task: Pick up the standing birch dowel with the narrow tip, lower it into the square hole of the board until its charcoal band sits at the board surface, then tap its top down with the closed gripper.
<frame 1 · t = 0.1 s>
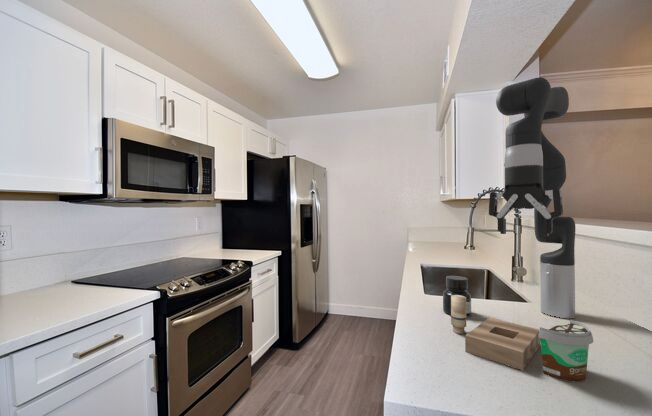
hand: (523, 234, 68), 29 cm above the worktop, tool pointing down, fingers open, 8 cm apart
food container: (572, 376, 61), on the worktop
board: (503, 348, 73), on the worktop
peg: (458, 331, 83), on the worktop
ink bottle: (456, 313, 99), on the worktop
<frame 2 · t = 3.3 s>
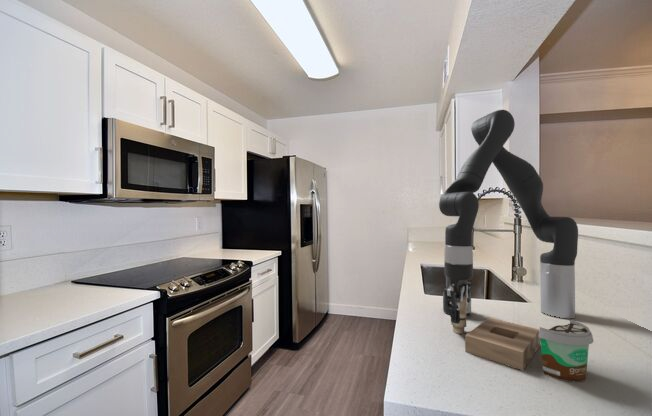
hand: (458, 320, 83), 3 cm above the worktop, tool pointing down, fingers closed on peg, 4 cm apart
peg: (458, 331, 83), on the worktop, touching gripper
everything else where it was.
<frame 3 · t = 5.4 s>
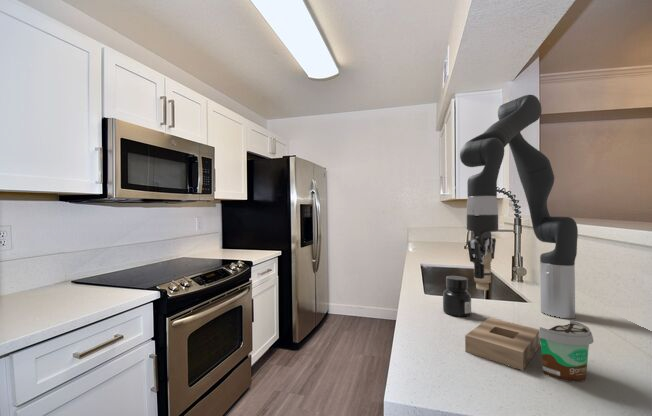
hand: (482, 276, 78), 17 cm above the worktop, tool pointing down, fingers closed on peg, 4 cm apart
peg: (482, 288, 78), point 14 cm above the worktop, touching gripper
everything else where it was.
when the fingers open (5 cm above the worktop, at t = 8.0 s): peg drops 1 cm, resting in board.
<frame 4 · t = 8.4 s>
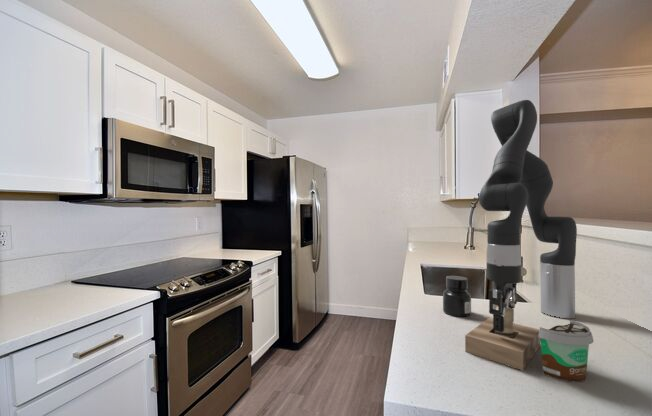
hand: (503, 326, 73), 6 cm above the worktop, tool pointing down, fingers open, 8 cm apart
peg: (503, 348, 73), resting in board
everything else where it was.
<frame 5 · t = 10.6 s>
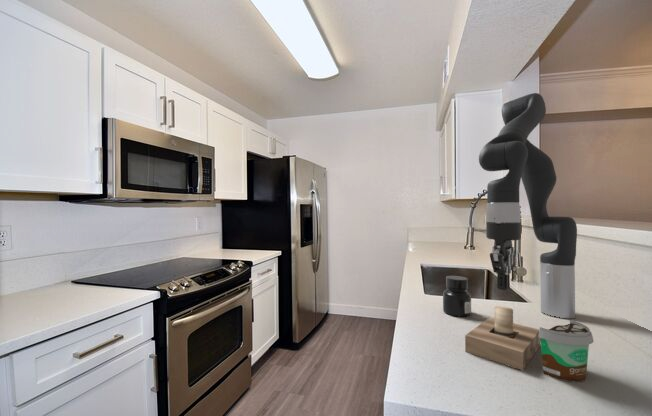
hand: (503, 288, 73), 15 cm above the worktop, tool pointing down, fingers closed
nothing on the worktop moved.
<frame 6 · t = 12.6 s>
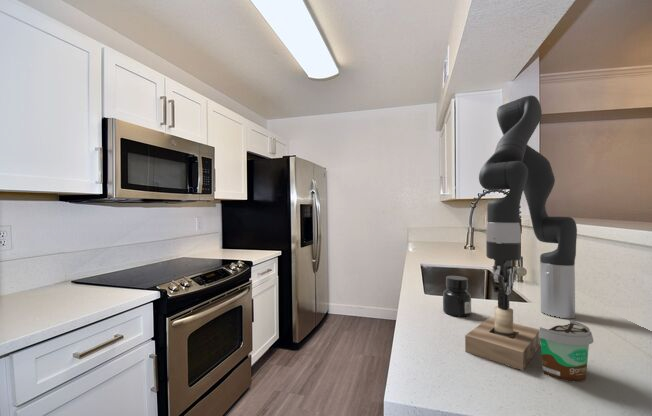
hand: (503, 308, 73), 10 cm above the worktop, tool pointing down, fingers closed
peg: (503, 348, 73), resting in board, touching gripper
everything else where it was.
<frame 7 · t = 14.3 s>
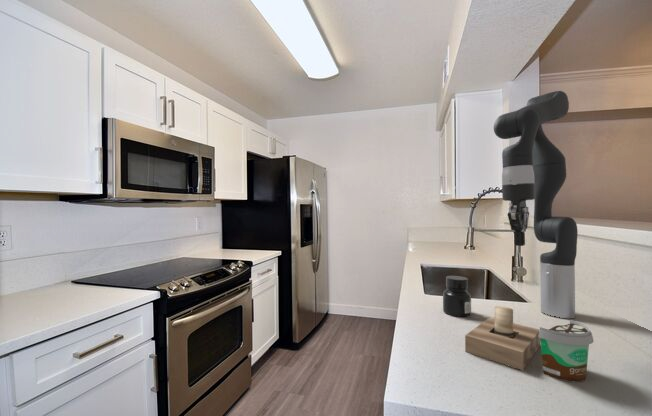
hand: (519, 245, 80), 25 cm above the worktop, tool pointing down, fingers closed
peg: (503, 348, 73), resting in board
everything else where it was.
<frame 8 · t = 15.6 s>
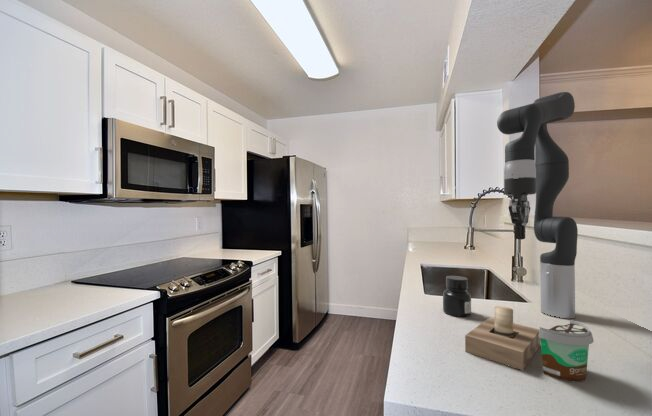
hand: (520, 239, 81), 27 cm above the worktop, tool pointing down, fingers closed
nothing on the worktop moved.
at the end: peg 0.1 cm off-centre on the board, point 0.0 cm above the board's base; peg tilted 0°; the gripper is holding nothing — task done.
